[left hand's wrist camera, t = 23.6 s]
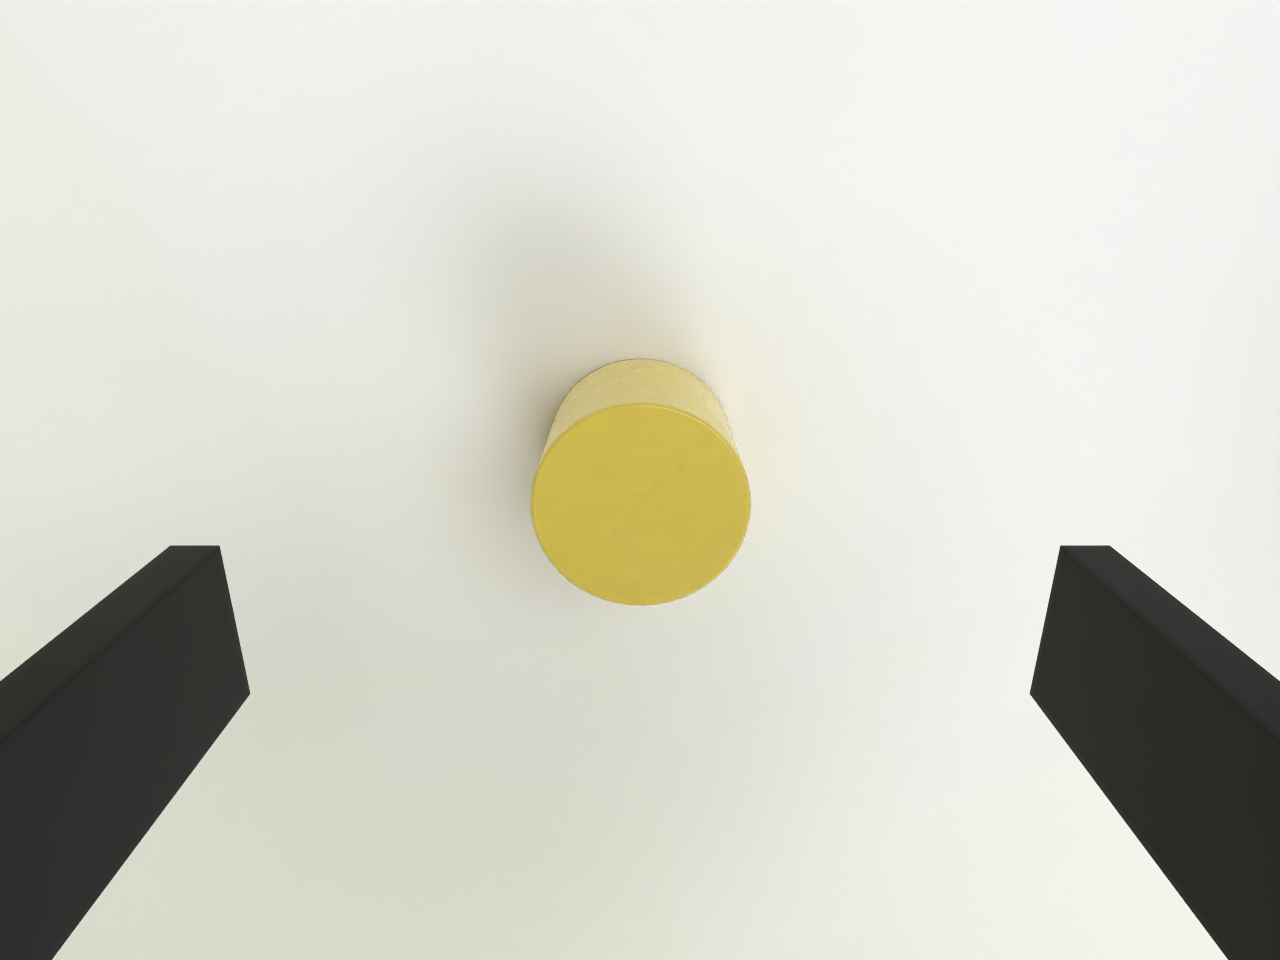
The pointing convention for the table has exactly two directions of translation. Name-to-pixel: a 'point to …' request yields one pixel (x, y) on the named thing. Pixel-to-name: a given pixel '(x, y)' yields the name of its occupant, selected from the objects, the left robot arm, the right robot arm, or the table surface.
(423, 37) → the table surface
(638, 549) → the cylinder
